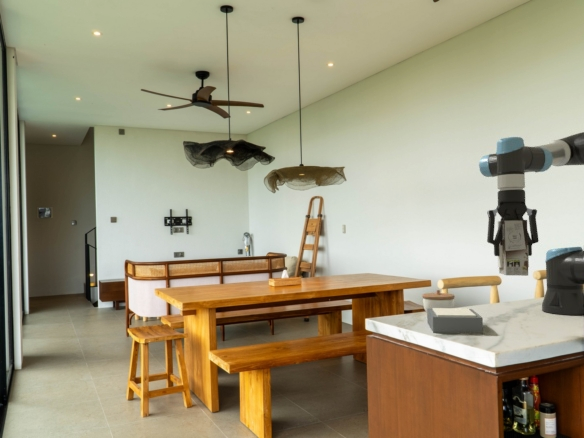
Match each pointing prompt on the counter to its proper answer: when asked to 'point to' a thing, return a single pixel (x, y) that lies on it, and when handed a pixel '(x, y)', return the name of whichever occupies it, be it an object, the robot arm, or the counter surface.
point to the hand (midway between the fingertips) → (513, 267)
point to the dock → (454, 320)
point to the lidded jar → (438, 300)
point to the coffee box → (514, 247)
